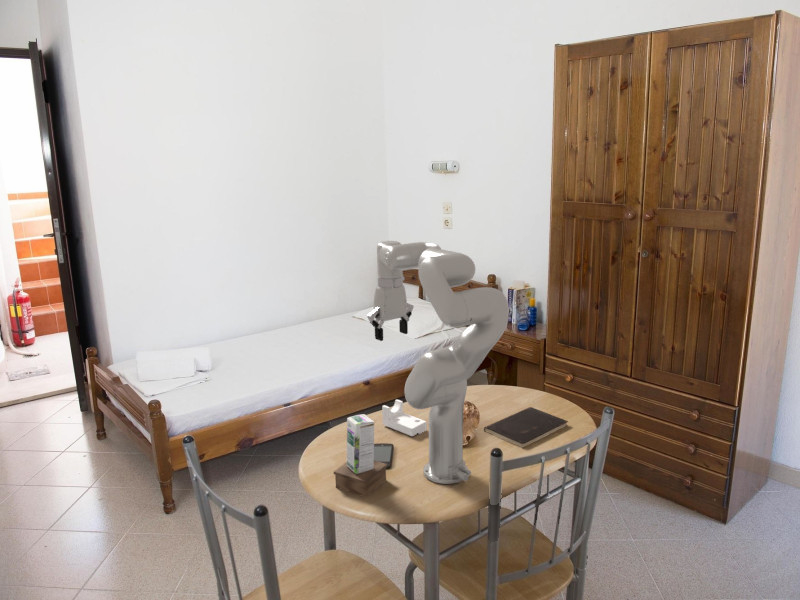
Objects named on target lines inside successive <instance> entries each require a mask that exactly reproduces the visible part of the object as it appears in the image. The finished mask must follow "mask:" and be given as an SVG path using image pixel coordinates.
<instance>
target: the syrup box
mask: <svg viewBox="0 0 800 600" xmlns="http://www.w3.org/2000/svg"><path fill="white" fill-rule="evenodd" d="M346 421H347V422H346V462H347V467H349V468H350V469H351V470H352V471H353V472H354V473H355V474H359V473H363V472H366V471H369V470H372V469H374V459H375V421H374V420H373V419H371V418H370V417H369V416H368V415H366V414H364V413H363V414H356V415H353V416H349V417H347V419H346Z"/></svg>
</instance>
